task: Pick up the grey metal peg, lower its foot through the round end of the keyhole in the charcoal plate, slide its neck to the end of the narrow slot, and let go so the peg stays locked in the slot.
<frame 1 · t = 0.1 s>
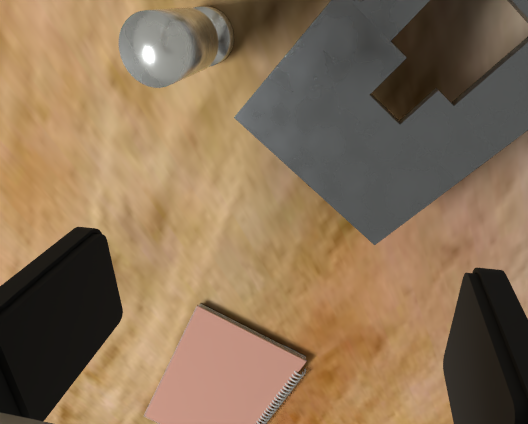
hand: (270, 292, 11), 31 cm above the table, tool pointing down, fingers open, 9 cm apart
keyhole stand: (405, 66, 36), on the table
peg: (208, 36, 39), on the table
notebook: (223, 382, 62), on the table
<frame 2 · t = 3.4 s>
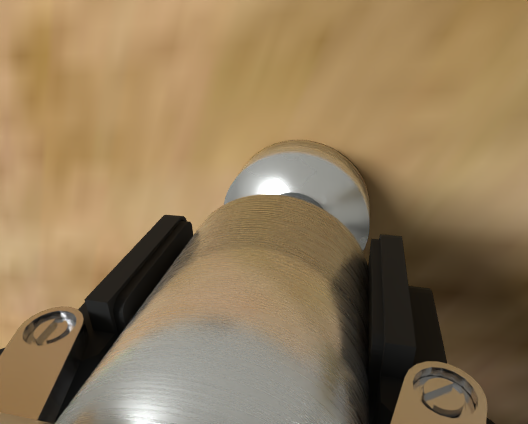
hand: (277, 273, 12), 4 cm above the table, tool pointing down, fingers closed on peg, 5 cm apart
peg: (299, 205, 15), on the table, touching gripper
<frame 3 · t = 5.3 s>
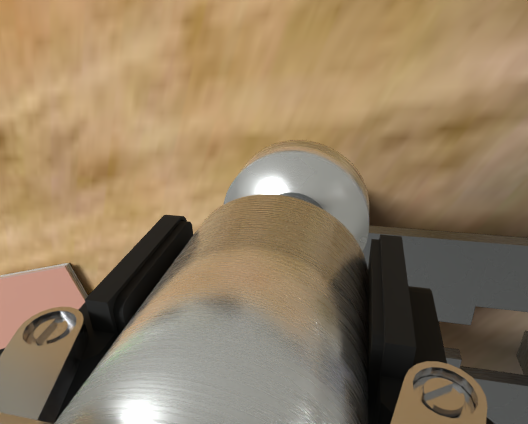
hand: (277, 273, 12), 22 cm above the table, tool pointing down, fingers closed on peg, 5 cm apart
keyhole stand: (436, 274, 36), on the table
peg: (299, 205, 15), point 18 cm above the table, touching gripper
notebook: (24, 327, 53), on the table
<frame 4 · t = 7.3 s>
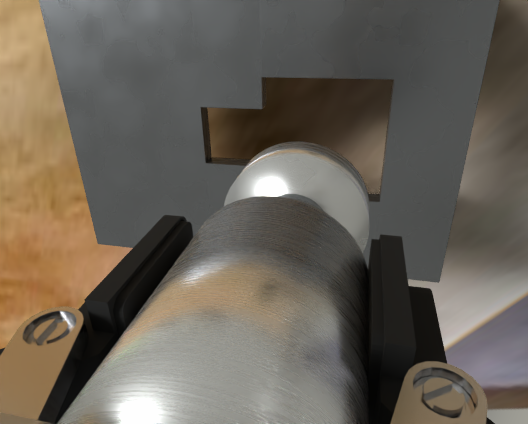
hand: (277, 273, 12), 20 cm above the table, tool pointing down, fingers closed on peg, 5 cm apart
keyhole stand: (277, 104, 29), on the table
peg: (299, 206, 15), point 15 cm above the table, touching gripper
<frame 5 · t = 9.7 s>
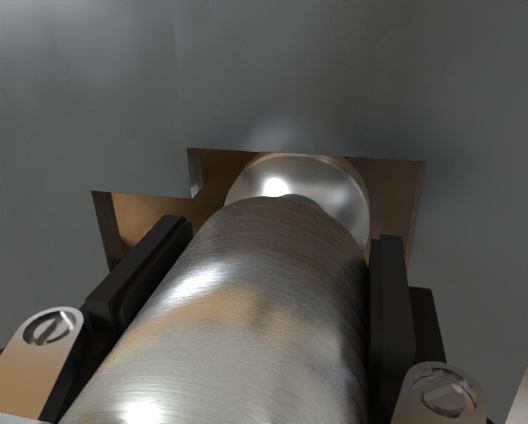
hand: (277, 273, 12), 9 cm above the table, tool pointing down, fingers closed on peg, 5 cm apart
keyhole stand: (240, 158, 20), on the table
peg: (300, 206, 15), point 5 cm above the table, touching gripper
when the fingers open (9 cm above the table, at t = 11.7 s): peg drops 1 cm, resting on keyhole stand.
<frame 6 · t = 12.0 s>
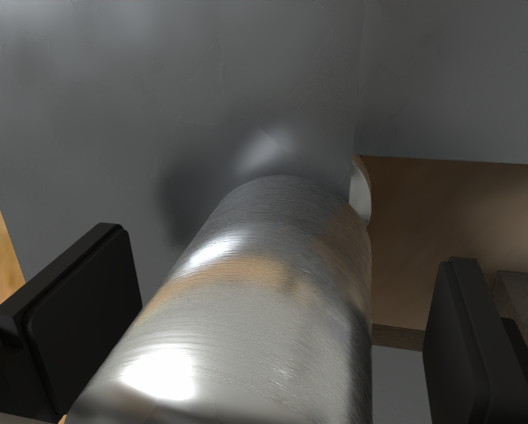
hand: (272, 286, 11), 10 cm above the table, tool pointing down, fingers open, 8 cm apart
keyhole stand: (336, 162, 19), on the table
peg: (306, 191, 16), point 3 cm above the table, touching keyhole stand
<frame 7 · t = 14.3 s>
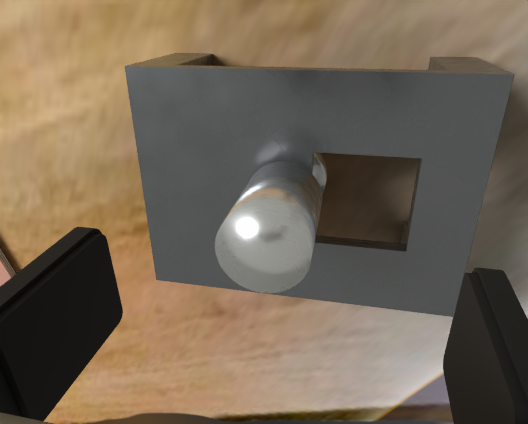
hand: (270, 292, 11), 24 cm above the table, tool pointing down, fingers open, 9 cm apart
keyhole stand: (311, 158, 34), on the table
peg: (293, 173, 31), point 3 cm above the table, touching keyhole stand
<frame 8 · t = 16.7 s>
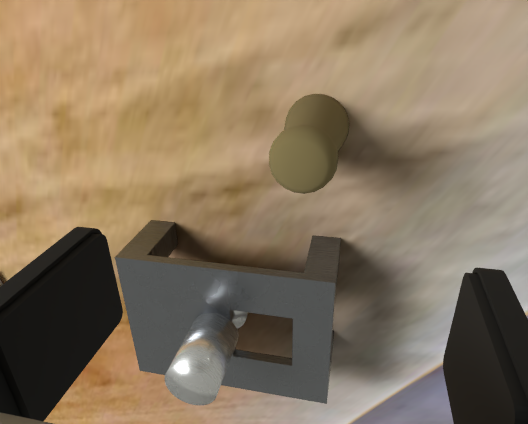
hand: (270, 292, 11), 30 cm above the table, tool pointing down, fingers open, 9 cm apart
cork: (317, 125, 39), on the table
keyhole stand: (244, 286, 50), on the table
peg: (228, 303, 47), point 3 cm above the table, touching keyhole stand
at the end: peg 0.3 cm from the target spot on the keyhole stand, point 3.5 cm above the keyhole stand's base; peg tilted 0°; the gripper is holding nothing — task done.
